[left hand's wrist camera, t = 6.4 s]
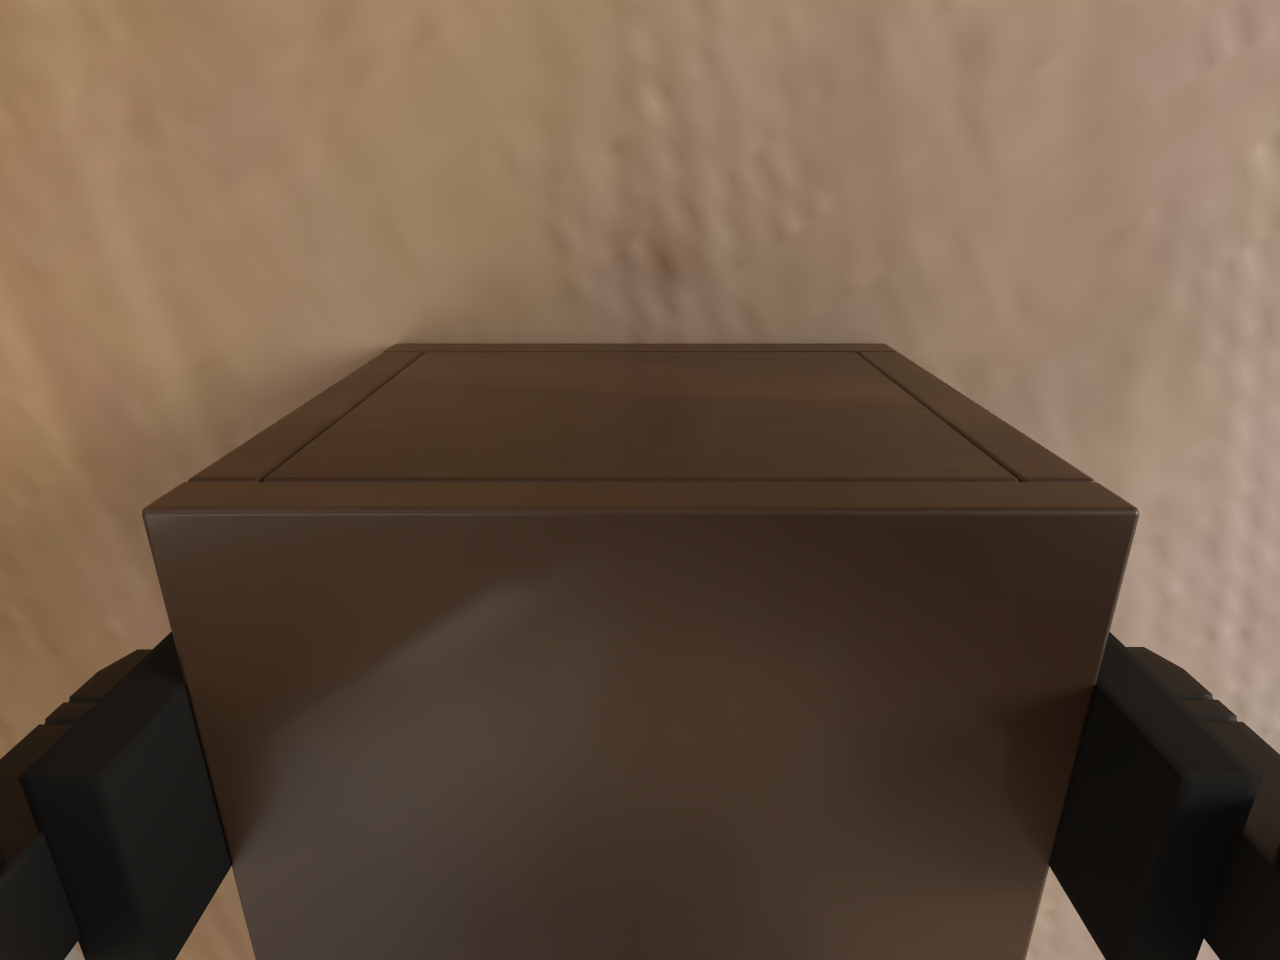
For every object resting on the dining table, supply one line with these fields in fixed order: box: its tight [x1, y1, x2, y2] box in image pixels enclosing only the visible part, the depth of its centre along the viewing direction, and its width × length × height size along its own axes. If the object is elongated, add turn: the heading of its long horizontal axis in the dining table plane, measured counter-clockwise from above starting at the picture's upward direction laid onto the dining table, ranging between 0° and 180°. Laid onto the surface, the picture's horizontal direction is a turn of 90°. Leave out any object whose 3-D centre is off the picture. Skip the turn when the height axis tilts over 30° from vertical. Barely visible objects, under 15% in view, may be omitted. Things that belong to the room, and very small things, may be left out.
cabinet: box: [142, 344, 1139, 960], centre depth 15 cm, size 17×10×9 cm, turn 0°
